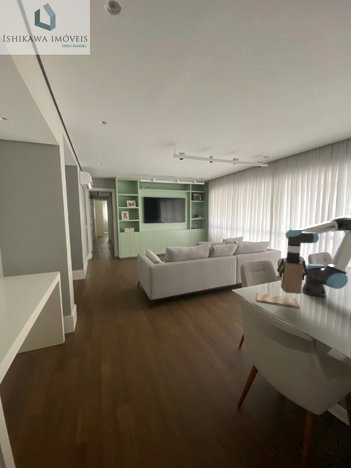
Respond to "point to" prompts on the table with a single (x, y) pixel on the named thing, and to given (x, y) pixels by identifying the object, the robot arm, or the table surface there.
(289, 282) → the block
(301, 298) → the table surface
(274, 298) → the board
